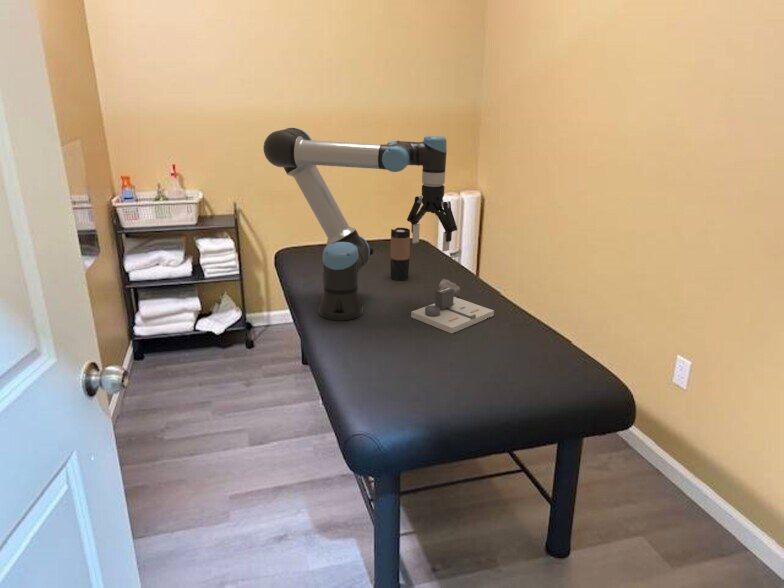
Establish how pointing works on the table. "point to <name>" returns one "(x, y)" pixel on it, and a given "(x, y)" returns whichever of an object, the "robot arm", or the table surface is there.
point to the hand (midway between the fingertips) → (430, 246)
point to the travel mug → (400, 253)
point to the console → (453, 315)
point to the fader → (444, 298)
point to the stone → (450, 286)
